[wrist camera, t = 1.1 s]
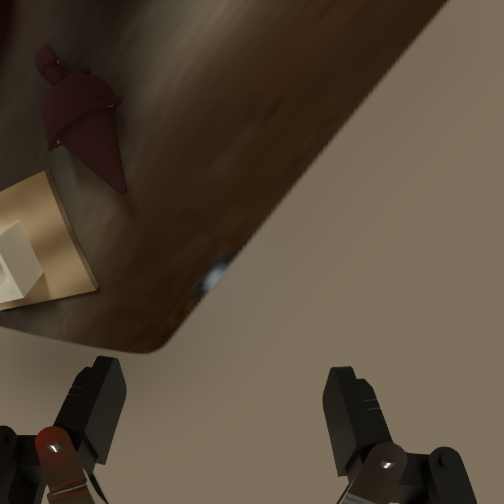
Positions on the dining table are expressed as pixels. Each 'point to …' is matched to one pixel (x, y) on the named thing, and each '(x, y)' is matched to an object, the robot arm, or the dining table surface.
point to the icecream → (81, 116)
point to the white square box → (16, 263)
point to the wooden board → (46, 240)
